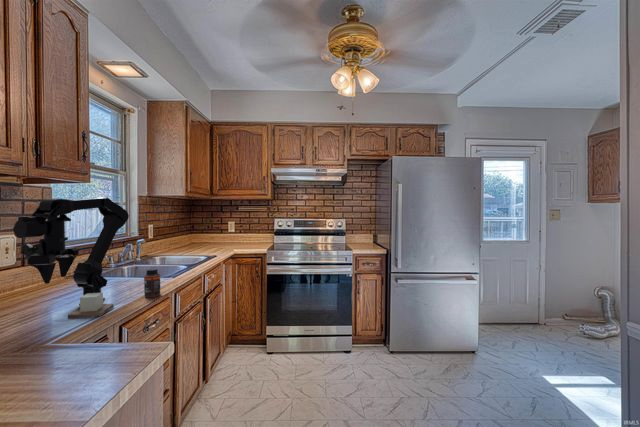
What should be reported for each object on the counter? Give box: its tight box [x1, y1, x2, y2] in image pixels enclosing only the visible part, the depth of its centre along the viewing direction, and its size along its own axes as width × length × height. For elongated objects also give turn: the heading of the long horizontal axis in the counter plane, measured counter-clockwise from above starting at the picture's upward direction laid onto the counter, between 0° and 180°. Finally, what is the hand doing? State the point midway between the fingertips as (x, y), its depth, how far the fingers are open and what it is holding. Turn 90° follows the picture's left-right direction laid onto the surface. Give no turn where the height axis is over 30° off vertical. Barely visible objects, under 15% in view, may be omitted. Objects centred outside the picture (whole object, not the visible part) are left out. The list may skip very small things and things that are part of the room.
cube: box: [79, 292, 104, 312], centre depth 113 cm, size 5×5×5 cm
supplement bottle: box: [143, 267, 161, 299], centre depth 133 cm, size 6×6×11 cm
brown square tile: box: [67, 303, 115, 319], centre depth 113 cm, size 10×10×1 cm
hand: (55, 280), depth 110 cm, fingers open, 9 cm apart
